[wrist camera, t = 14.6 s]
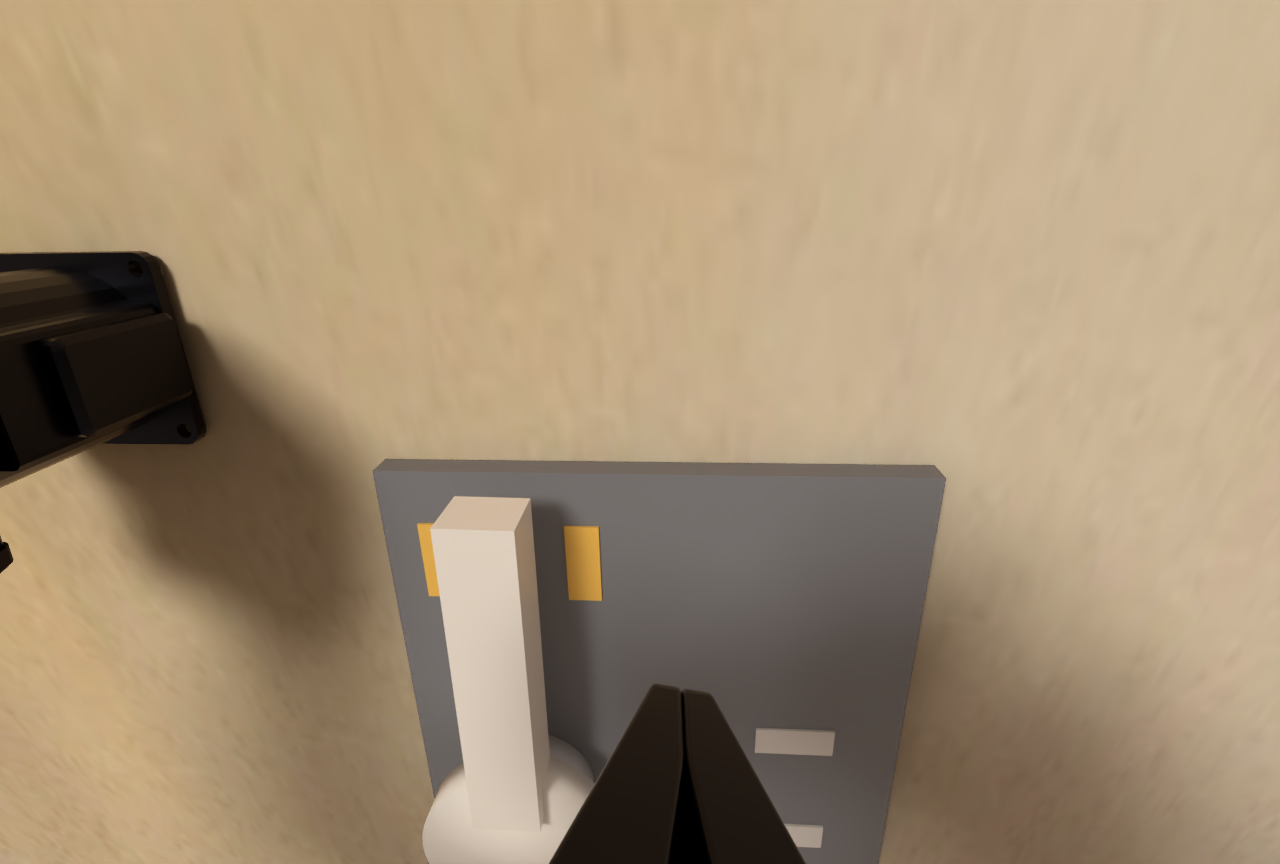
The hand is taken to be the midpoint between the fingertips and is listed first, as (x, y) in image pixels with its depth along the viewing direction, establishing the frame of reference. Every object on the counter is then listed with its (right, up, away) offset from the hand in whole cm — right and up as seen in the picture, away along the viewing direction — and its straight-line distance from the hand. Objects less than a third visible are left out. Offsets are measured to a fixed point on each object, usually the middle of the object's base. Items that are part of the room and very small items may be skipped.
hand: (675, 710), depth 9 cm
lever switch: (-5, -6, +14) cm, 16 cm away
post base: (0, -6, +16) cm, 17 cm away
